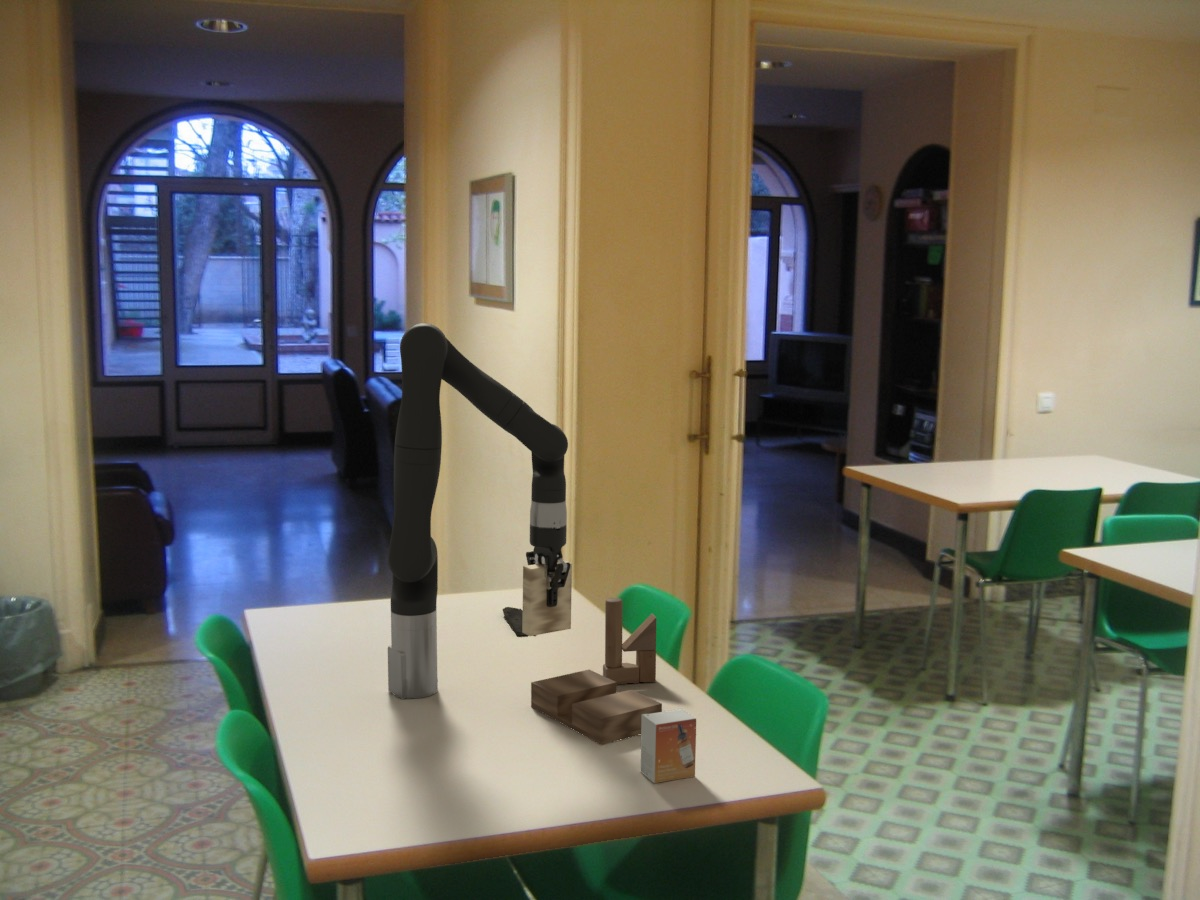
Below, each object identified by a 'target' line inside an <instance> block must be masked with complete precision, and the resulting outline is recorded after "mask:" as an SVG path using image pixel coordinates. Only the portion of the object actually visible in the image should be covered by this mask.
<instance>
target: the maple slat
mask: <svg viewBox="0 0 1200 900" xmlns="http://www.w3.org/2000/svg"><path fill="white" fill-rule="evenodd" d="M563 561H564V562H565V563H567V562H569V561H567V560H564V559H563ZM569 563H570V570H569V573H568V576H567V580H566V583H565V586H564V587H561V588H558V600H557V606H555V607H548V606H547V582H546V578H545V577H544V574H545V567H543V565H541V564H540V565H538V564H534V565H528V564H527V565H523V566H522V611H523V619H522V633H524V634H526V635H528V637H535V636H534V635H536V636H539V635H544V634H545V635H546V634H550V633H555V632H562V631H566V630H567V631H568V630H571V629H572V587H573V586H572V584H573V579H572V578H573V562H569ZM553 573H555V572H549V574H553ZM553 578H554V577H553ZM553 578H551V582H553ZM560 580H561V579H560Z"/></svg>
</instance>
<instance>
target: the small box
mask: <svg viewBox="0 0 1200 900" xmlns="http://www.w3.org/2000/svg"><path fill="white" fill-rule="evenodd" d="M696 738H697V718H696V717H695V716H694V715H692V714H691V713H689V712H688V711H686V709H684V708H676V709H672V710H666V711H665V710H664V711H662V712H658V713H651V714H642V717H641V735H640V773H642V774H643V775H644V776H645V777H646V778H647V779H648V780H650V781H651V782H652V783H654V784H658V783H662V782H668V781H674V780H682V779H687V778H688V779H690V778H695V776H696V750H697V749H696V748H697V746H696V744H697V739H696Z"/></svg>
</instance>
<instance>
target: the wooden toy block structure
mask: <svg viewBox="0 0 1200 900" xmlns="http://www.w3.org/2000/svg"><path fill="white" fill-rule="evenodd" d="M604 604H605V607H604V608H605V609H604V611H605V614H604V615H605V617H604V618H605V620H604V621H605V622H604V623H605V624H604V626H605V629H604V630H605V631H604V632H605V633H604V635H605V636H604V639H605V640H604V641H605V642H604V643H605V644H604V647H605V649H604V664H603V665H602V676H604V677H606V678H609V679H611V680H613V681H615V682H617V684H618V685H628V684H627V683H634V684H640V683H639V682H653V683H656V680H657V677H656V675H657V618H658V617H656V616H655V614H654V613H650V614H649V616H647V618H646V619H645V620H644V621H643V622H642V623H641V624H640V625H639V626H638V627H637V628H636V629H635V630H634V631H633V633H632V634H630V635H629V637H627V639H625V641H624V642H623V610H624V609H623V599H621V598H619V597H608V598H606V599H605V603H604ZM623 652H624V653H625V652H636V653H635V664H634V663H631V662H623Z"/></svg>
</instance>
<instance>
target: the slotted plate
mask: <svg viewBox="0 0 1200 900" xmlns="http://www.w3.org/2000/svg"><path fill="white" fill-rule="evenodd" d="M617 690H618V689H617V682H615V681H613V680H611V679H609V678H606V677H604V676H603V674H599V673H598V672H595V671H594V670H592V669H585V670H581V671H575V672H572V673H567V674H562V675H557V676H553V677H550V678H545V679H540V680H536V681H531V682H530V707H531V708H533V709H534V710H537V711H538V710H539V712H540V711H541V712H540V713H542V712H543V714H544V715H546V716H547V715H548V717H549V716H550V717H549V718H550V719H552V720H555V719H556V720H557V722H558V721H559V722H558V723H560V722H561V723H560V724H562V723H563V724H562V725H563V726H565V725H566V727H567V726H568V727H567V728H568V729H571V728H572V729H571V730H573V729H574V730H575V731H574V730H573V731H574V732H576V731H577V732H576V733H578V732H579V733H578V734H580V735H582V734H583V735H584V737H585V736H586V737H585V738H587V737H588V738H587V739H589V740H591V741H593V742H594V743H596V744H598V745H599V746H603V744H604V745H607V744H611V743H615V742H618V741H617V740H619V741H621V740H620V739H622V740H626V739H629V738H628V737H630V738H633V737H632V736H634V737H636V736H635V735H637V736H639V735H638V734H641V717H642V714H651V713H658V712H663V709H662V708H663V703H662V702H660V701H657V700H655V699H653V698H651V697H649V696H647V695H644V694H642V693H640V692H638V691H636V690H635V689H627V690H623V691H618V692H617ZM556 720H555V721H556ZM583 735H582V736H583ZM625 738H626V739H625ZM614 741H615V742H614ZM610 742H611V743H610Z"/></svg>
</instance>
